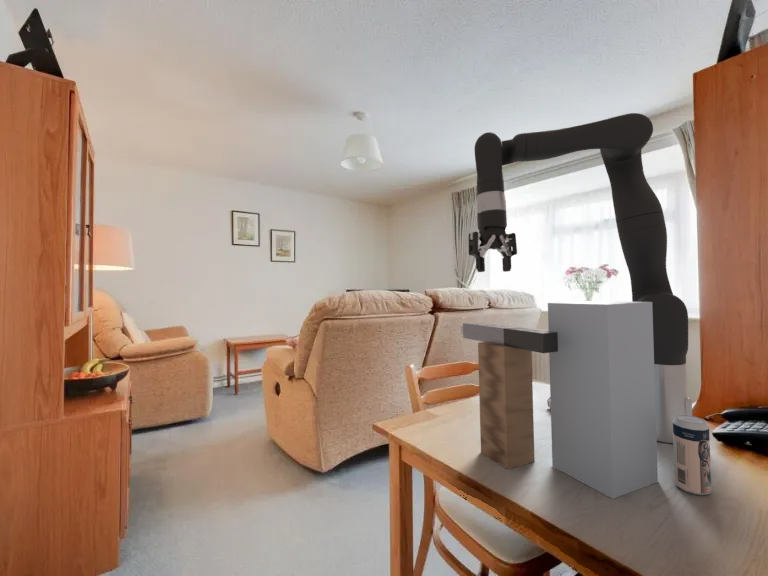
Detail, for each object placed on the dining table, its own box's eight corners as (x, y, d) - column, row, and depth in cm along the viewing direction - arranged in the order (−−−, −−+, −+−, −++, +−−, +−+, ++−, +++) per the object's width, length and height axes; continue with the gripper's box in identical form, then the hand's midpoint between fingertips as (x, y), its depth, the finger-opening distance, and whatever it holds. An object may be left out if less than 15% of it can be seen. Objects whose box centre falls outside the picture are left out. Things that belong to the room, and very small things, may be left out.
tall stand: (594, 453, 74) (590, 300, 74) (657, 481, 63) (652, 301, 63) (552, 466, 69) (547, 302, 70) (612, 498, 58) (607, 304, 59)
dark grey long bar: (458, 336, 86) (458, 322, 86) (470, 335, 88) (469, 321, 88) (543, 353, 62) (542, 333, 62) (558, 351, 64) (557, 332, 64)
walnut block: (480, 452, 76) (477, 342, 76) (506, 445, 79) (503, 340, 79) (507, 468, 69) (504, 347, 69) (534, 461, 72) (531, 344, 72)
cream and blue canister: (714, 500, 57) (712, 426, 57) (676, 492, 60) (674, 420, 60) (707, 486, 61) (705, 416, 61) (672, 479, 64) (670, 412, 64)
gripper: (502, 215, 101) (505, 272, 101) (461, 213, 96) (463, 273, 96) (522, 209, 94) (525, 270, 94) (478, 206, 89) (481, 271, 89)
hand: (494, 271), depth 95 cm, fingers open, 8 cm apart
